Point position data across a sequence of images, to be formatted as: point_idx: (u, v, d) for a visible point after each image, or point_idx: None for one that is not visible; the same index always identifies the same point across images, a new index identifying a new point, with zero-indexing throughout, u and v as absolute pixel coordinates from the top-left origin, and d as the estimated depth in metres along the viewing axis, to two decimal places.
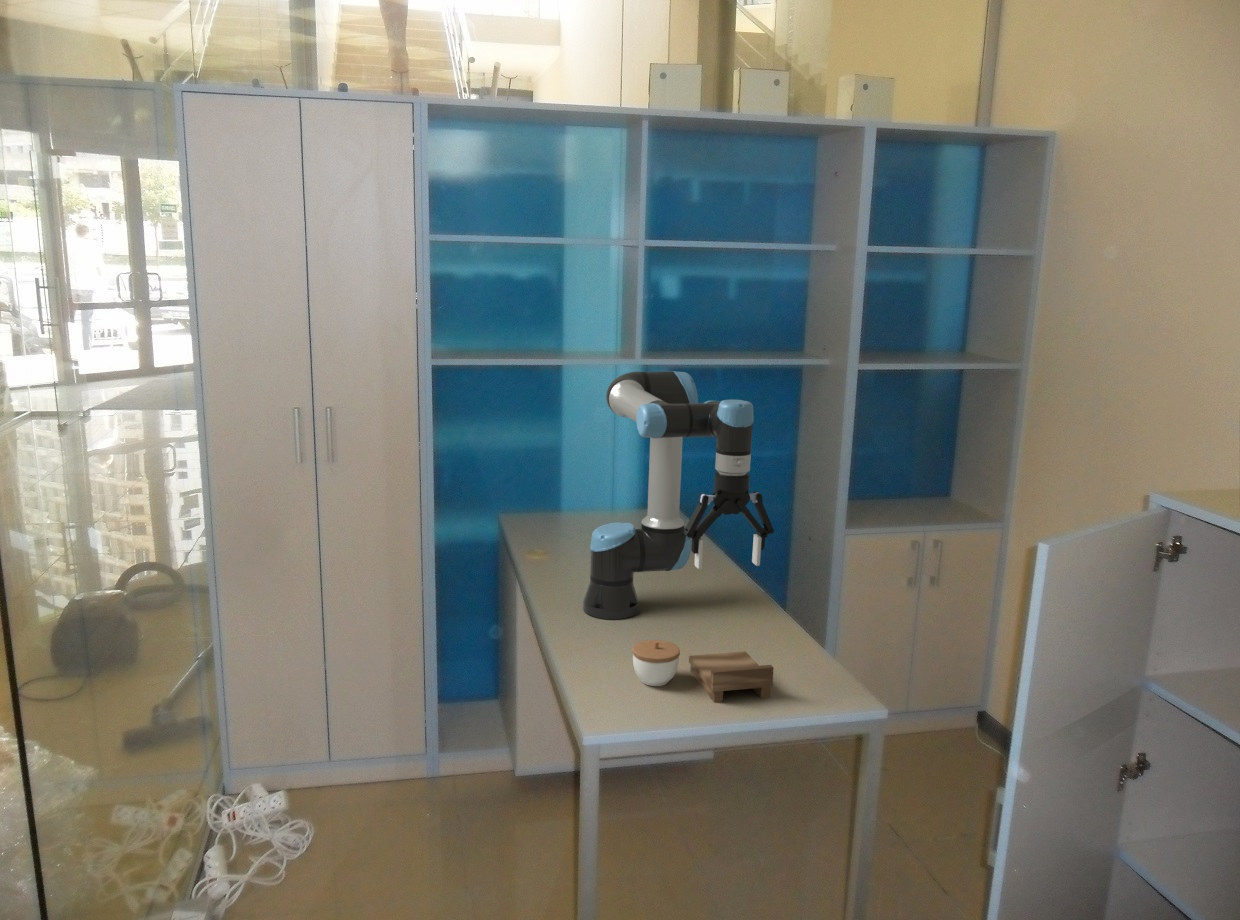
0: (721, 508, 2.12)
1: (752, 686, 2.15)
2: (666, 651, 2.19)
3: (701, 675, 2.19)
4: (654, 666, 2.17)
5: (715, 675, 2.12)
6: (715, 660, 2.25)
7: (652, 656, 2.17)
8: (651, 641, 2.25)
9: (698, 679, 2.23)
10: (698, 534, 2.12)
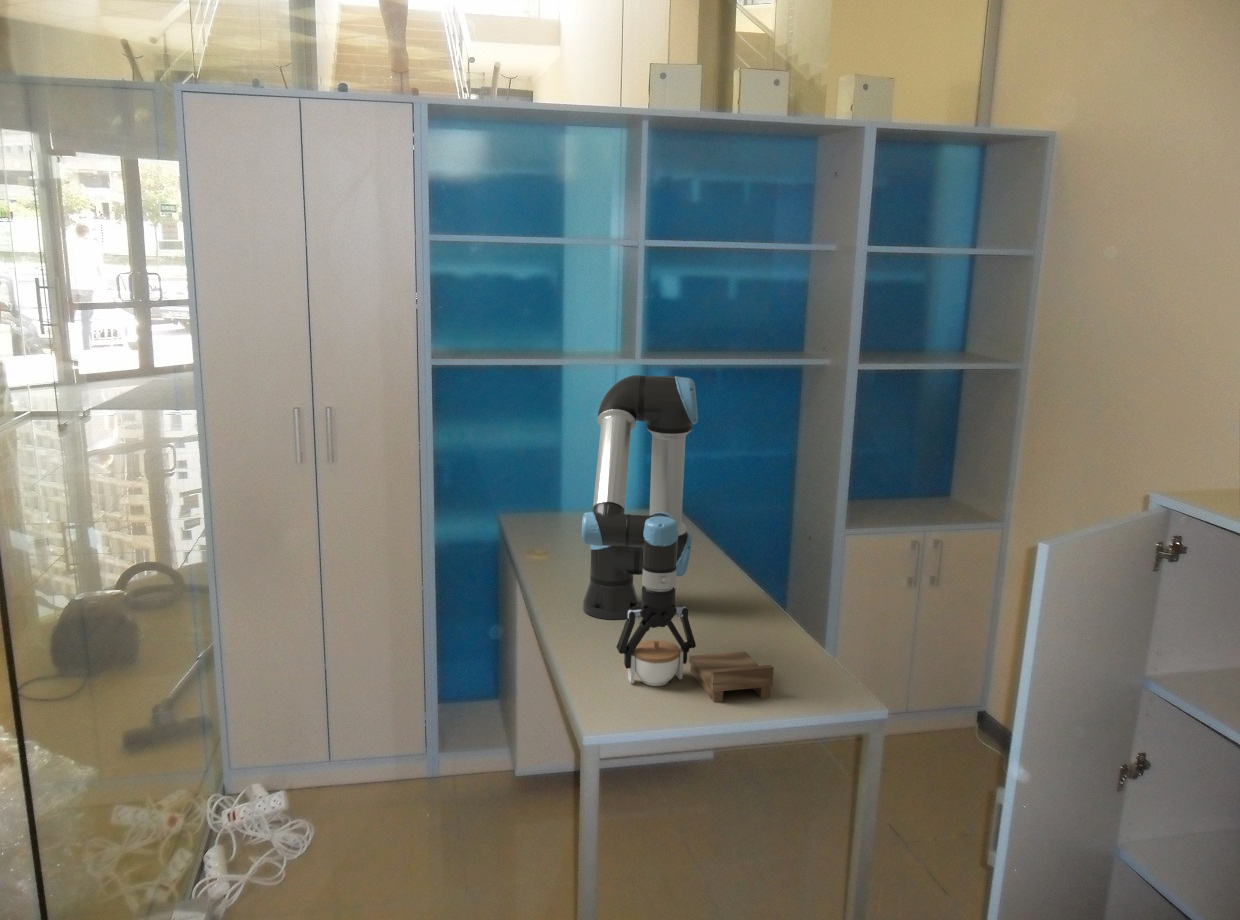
0: (648, 623, 2.18)
1: (752, 686, 2.15)
2: (666, 651, 2.19)
3: (701, 675, 2.19)
4: (654, 666, 2.17)
5: (715, 675, 2.12)
6: (715, 660, 2.25)
7: (652, 656, 2.17)
8: (651, 641, 2.25)
9: (698, 679, 2.23)
10: (630, 650, 2.18)
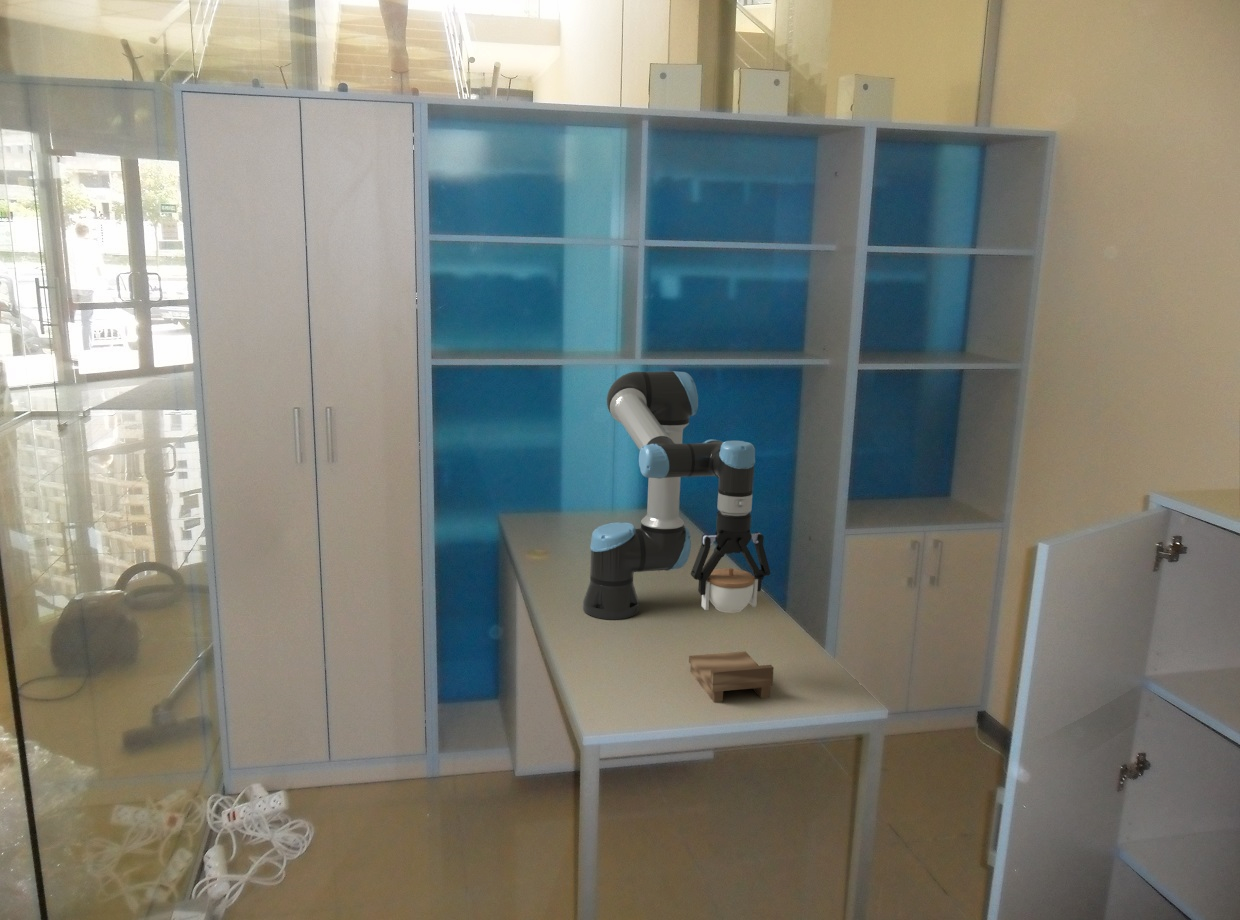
0: (724, 548, 2.15)
1: (752, 686, 2.15)
2: (741, 578, 2.17)
3: (701, 675, 2.19)
4: (730, 591, 2.14)
5: (715, 675, 2.12)
6: (715, 660, 2.25)
7: (728, 582, 2.14)
8: (724, 569, 2.22)
9: (698, 679, 2.23)
10: (705, 576, 2.16)
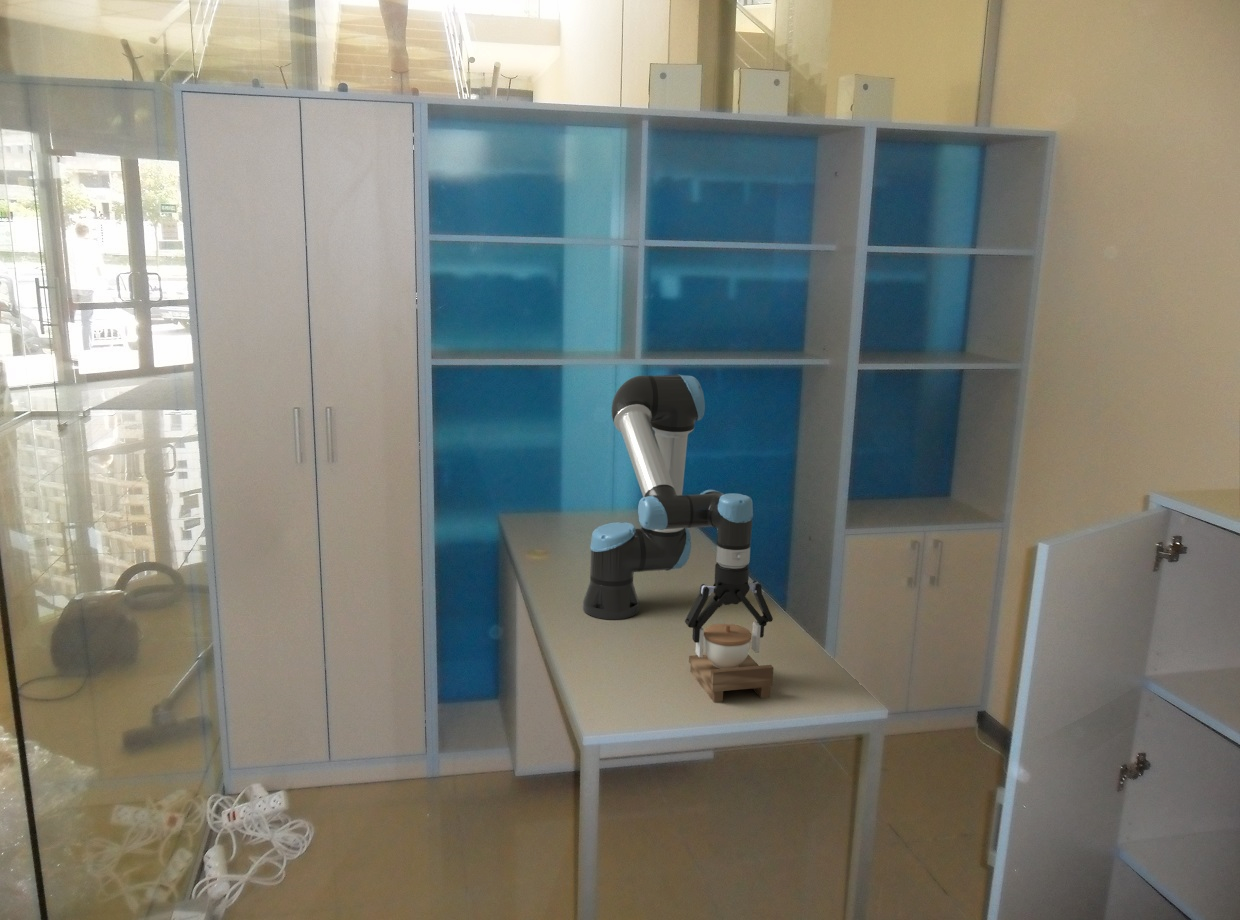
0: (721, 599, 2.18)
1: (752, 686, 2.15)
2: (738, 635, 2.20)
3: (701, 675, 2.19)
4: (727, 649, 2.17)
5: (715, 675, 2.12)
6: None
7: (724, 639, 2.17)
8: (721, 625, 2.25)
9: (698, 679, 2.23)
10: (699, 624, 2.18)
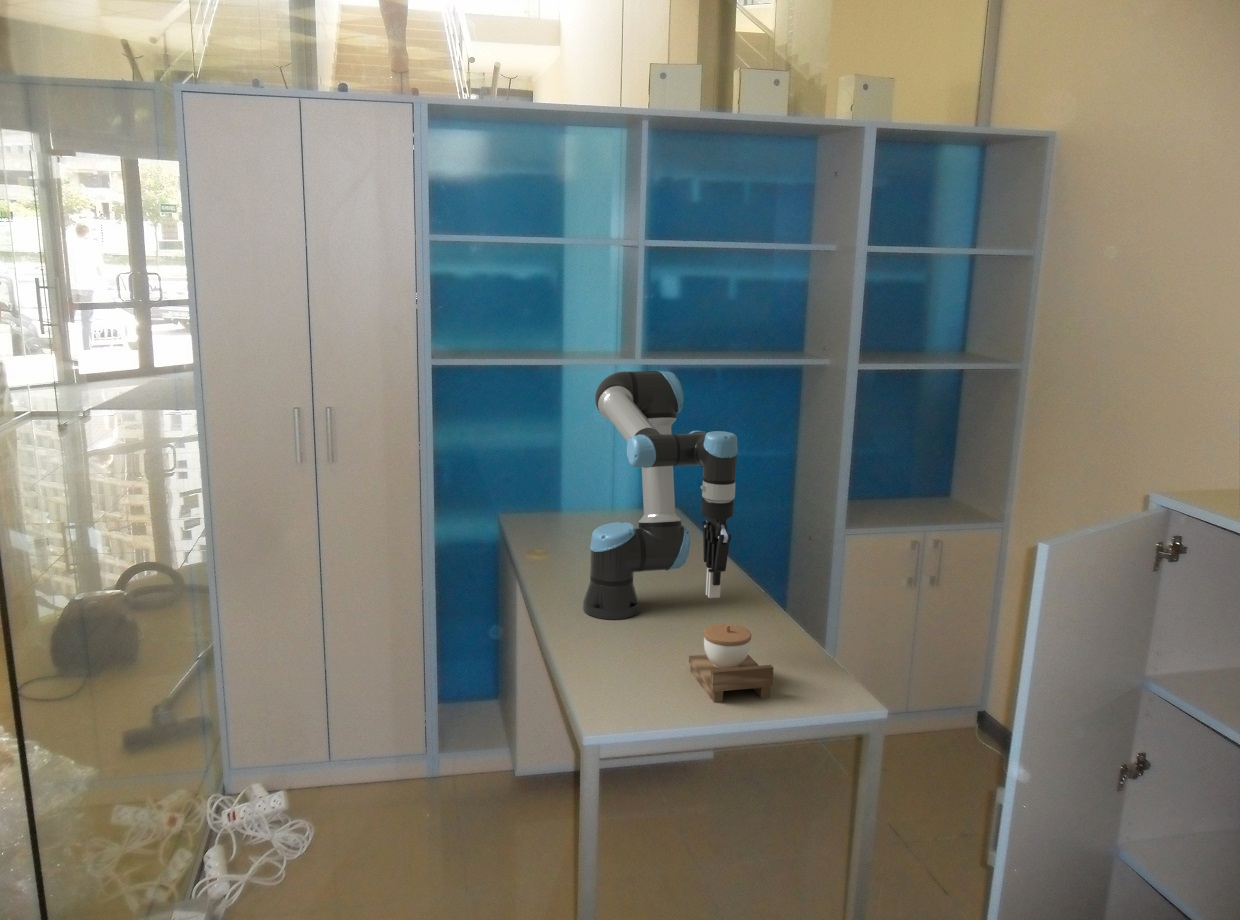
0: (706, 531, 2.29)
1: (752, 686, 2.15)
2: (738, 635, 2.20)
3: (701, 675, 2.19)
4: (727, 649, 2.17)
5: (715, 675, 2.12)
6: None
7: (724, 639, 2.17)
8: (721, 625, 2.25)
9: (698, 679, 2.23)
10: (706, 561, 2.31)
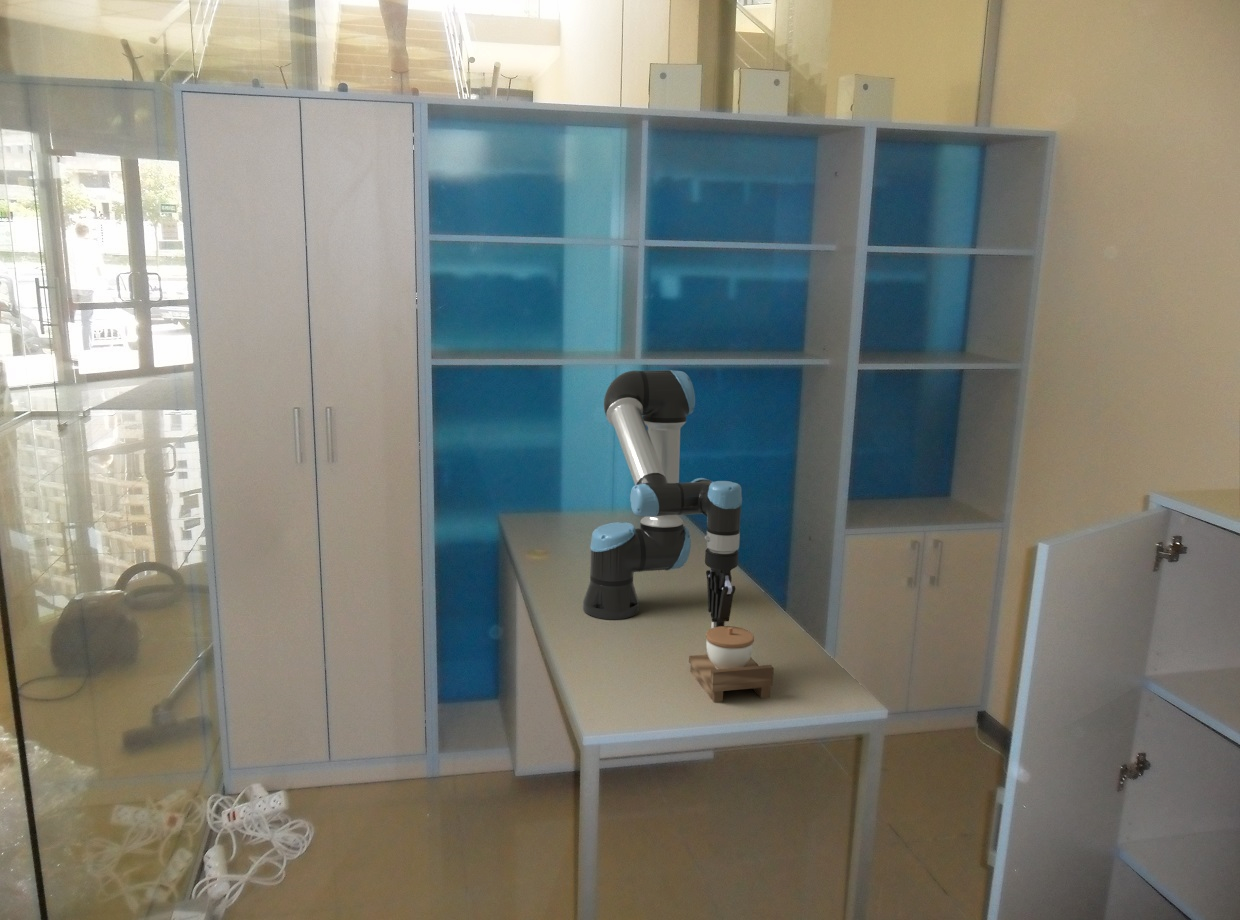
0: (711, 581, 2.27)
1: (752, 686, 2.15)
2: (741, 637, 2.18)
3: (701, 675, 2.19)
4: (730, 651, 2.15)
5: (715, 675, 2.12)
6: None
7: (727, 642, 2.16)
8: (724, 627, 2.24)
9: (698, 679, 2.23)
10: (711, 612, 2.29)
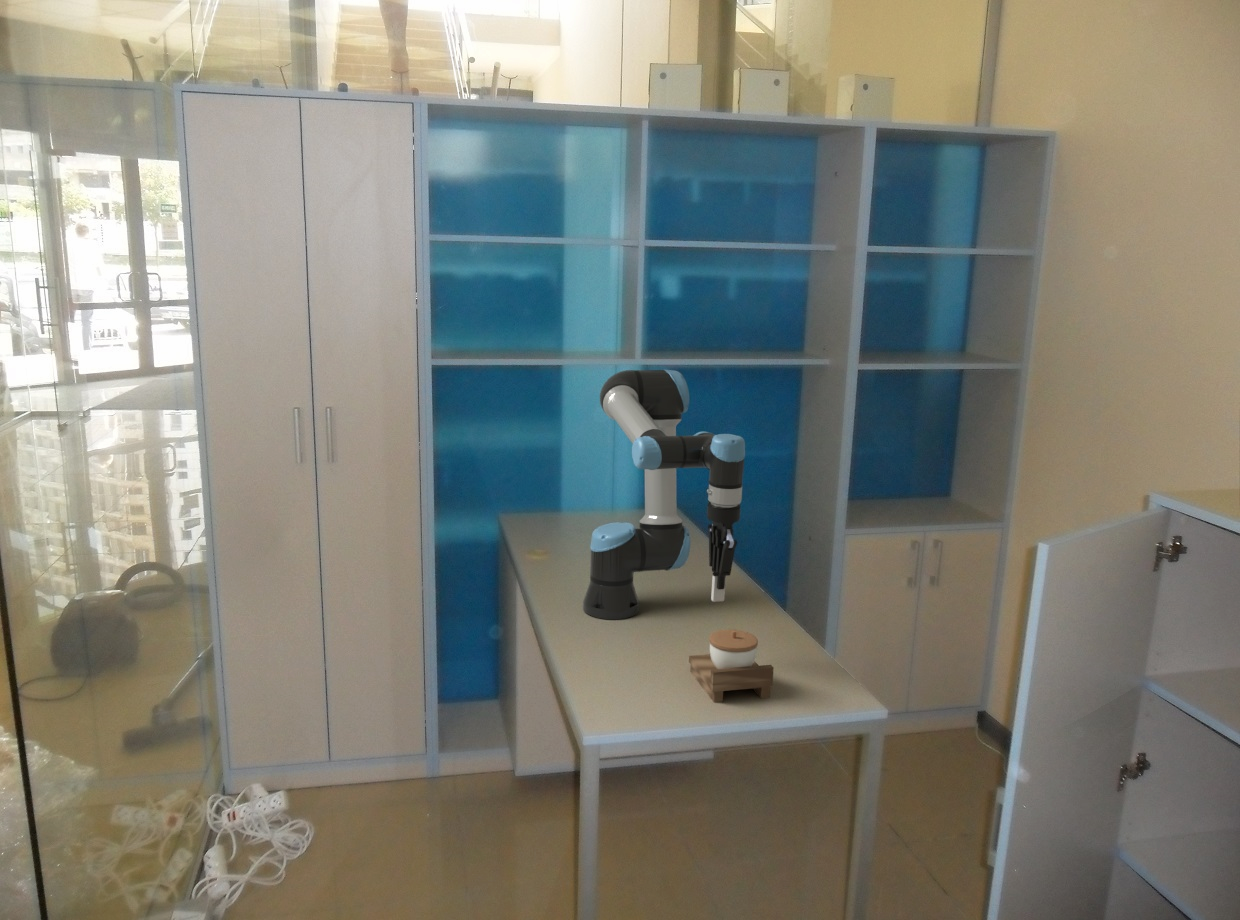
0: (712, 535, 2.25)
1: (752, 686, 2.15)
2: (745, 641, 2.16)
3: (701, 675, 2.19)
4: (734, 655, 2.14)
5: (715, 675, 2.12)
6: None
7: (731, 646, 2.14)
8: (727, 631, 2.22)
9: (698, 679, 2.23)
10: (712, 566, 2.27)
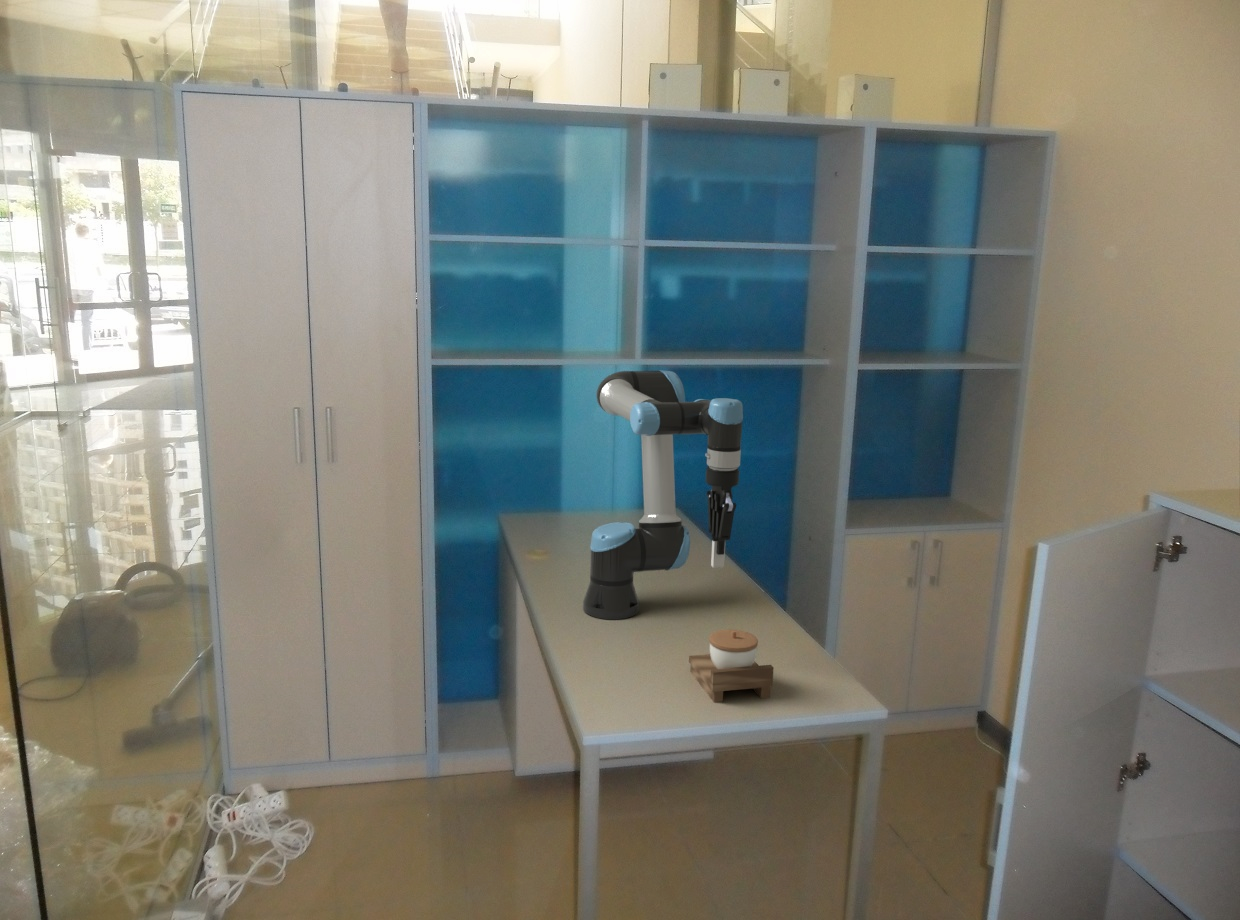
0: (711, 500, 2.25)
1: (752, 686, 2.15)
2: (745, 641, 2.16)
3: (701, 675, 2.19)
4: (734, 655, 2.14)
5: (715, 675, 2.12)
6: None
7: (731, 646, 2.14)
8: (727, 631, 2.22)
9: (698, 679, 2.23)
10: (712, 532, 2.27)
